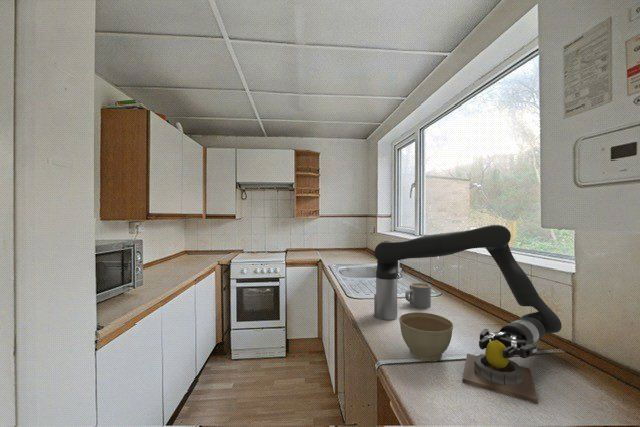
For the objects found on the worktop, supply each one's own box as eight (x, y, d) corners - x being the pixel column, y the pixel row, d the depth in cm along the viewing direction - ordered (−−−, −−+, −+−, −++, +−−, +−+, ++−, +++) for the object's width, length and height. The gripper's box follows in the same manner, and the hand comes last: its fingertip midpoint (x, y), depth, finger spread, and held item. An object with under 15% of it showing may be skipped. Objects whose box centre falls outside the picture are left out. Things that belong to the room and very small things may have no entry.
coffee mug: (424, 301, 144) (424, 282, 145) (434, 307, 135) (434, 287, 135) (399, 302, 142) (399, 283, 143) (408, 309, 133) (408, 288, 133)
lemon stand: (462, 382, 74) (462, 369, 74) (466, 356, 88) (466, 345, 88) (537, 403, 66) (537, 388, 66) (529, 371, 80) (529, 359, 80)
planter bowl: (389, 347, 94) (389, 315, 94) (427, 340, 100) (427, 309, 100) (422, 372, 79) (422, 334, 79) (465, 362, 85) (465, 326, 85)
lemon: (513, 375, 74) (512, 345, 74) (490, 373, 75) (489, 344, 75) (503, 364, 79) (503, 336, 79) (482, 362, 80) (482, 335, 80)
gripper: (494, 315, 91) (466, 327, 82) (548, 330, 79) (522, 346, 70) (494, 338, 91) (466, 352, 82) (548, 357, 79) (523, 376, 70)
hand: (492, 349), depth 76 cm, fingers closed on lemon, 5 cm apart
